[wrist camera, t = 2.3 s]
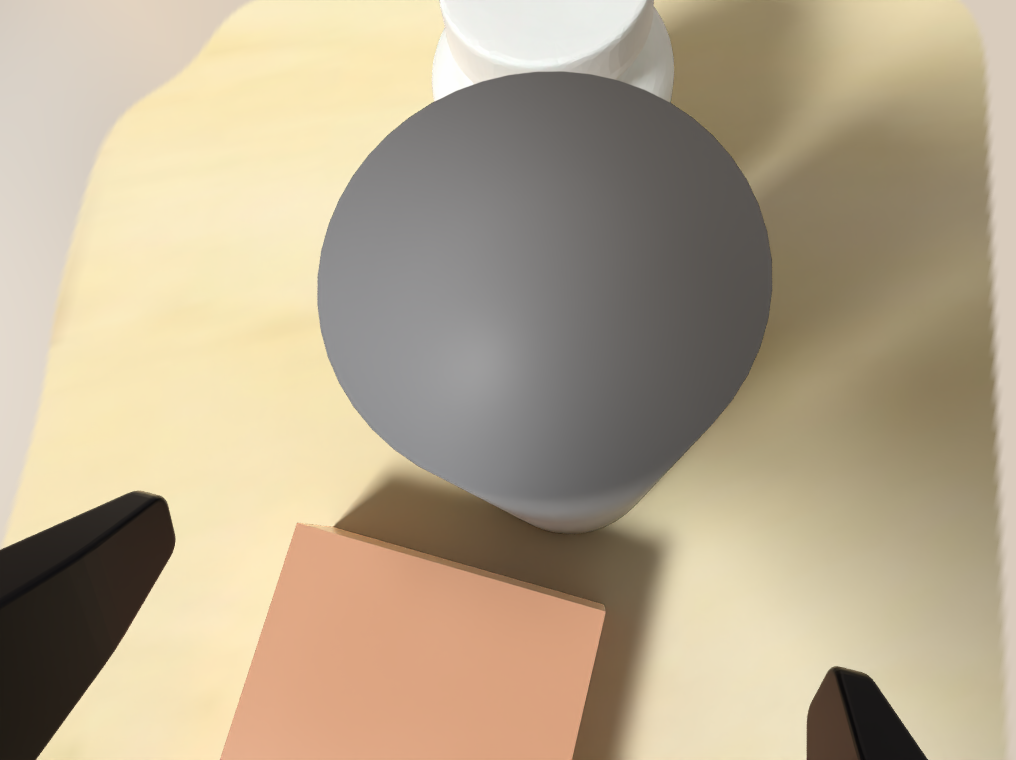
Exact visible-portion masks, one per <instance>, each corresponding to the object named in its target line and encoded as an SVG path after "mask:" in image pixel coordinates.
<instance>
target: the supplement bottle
mask: <svg viewBox="0 0 1016 760" xmlns="http://www.w3.org/2000/svg"><path fill="white" fill-rule="evenodd" d="M439 1H440V8H441V12H442V16H443V20H444V24H445V28H444V30H443V32H442V35H441V37H440V39H439V42H438V45H437V48H436V52H435V56H434V61H433V69H432V89H433V97H434V102H435V101H437V100H439V99H441V98H443V97H445V96H447V95H449V94H451V93H453V92H455V91H457V90H460V89H463V88H465V87H468V86H471V85H474V84H477V83H479V82H482V81H486V80H490V79H495V78H499V77H503V76H507V75H513V74H522V73H530V72H555V71H565V72H574V73H584V74H592V75H597V76H601V77H605V78H610V79H614V80H619V81H621V82H624V83H627V84H630V85H633V86H635V87H638V88H641V89H644V90H646V91H648V92H650V93H652V94H654V95H656V96H658V97H660V98H662V99H664V100H666V101H668V102H670V103H671V97H672V89H673V81H674V58H673V51H672V46H671V42H670V37H669V35H668V32H667V29H666V27H665V24H664V22H663V20H662V18H661V17H660V15H659V13H658V12H657V10H656V9H655V7H654V0H439Z"/></svg>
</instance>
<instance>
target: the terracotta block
mask: <svg viewBox="0 0 1016 760" xmlns="http://www.w3.org/2000/svg"><path fill="white" fill-rule="evenodd" d="M605 613H606V610H605V607H604V604H601V603H597V602H594V601H591V600H587V599H584V598H580V597H577V596H573V595H570V594H566V593H563V592H559V591H556V590H552V589H549V588H545V587H542V586H538V585H535V584H531V583H528V582H524V581H521V580H517V579H514V578H510V577H507V576H503V575H500V574H496V573H493V572H489V571H486V570H482V569H479V568H475V567H472V566H468V565H465V564H461V563H458V562H454V561H451V560H447V559H444V558H440V557H437V556H433V555H430V554H426V553H423V552H419V551H416V550H412V549H409V548H405V547H402V546H398V545H395V544H391V543H388V542H384V541H381V540H377V539H374V538H370V537H367V536H363V535H360V534H356V533H353V532H350V531H346V530H343V529H339V528H336V527H331V526H322V525H313V524H304V523H297V525H296V528H295V531H294V534H293V537H292V540H291V543H290V546H289V549H288V552H287V555H286V558H285V561H284V565H283V568H282V571H281V574H280V577H279V580H278V583H277V586H276V589H275V592H274V595H273V598H272V601H271V604H270V608H269V611H268V614H267V617H266V620H265V623H264V626H263V629H262V632H261V635H260V638H259V641H258V644H257V647H256V650H255V654H254V657H253V660H252V663H251V666H250V669H249V672H248V675H247V678H246V681H245V684H244V687H243V690H242V693H241V697H240V700H239V703H238V706H237V709H236V712H235V715H234V718H233V721H232V724H231V727H230V730H229V733H228V736H227V740H226V743H225V746H224V749H223V752H222V755H221V758H220V760H572V757H573V753H574V748H575V744H576V739H577V735H578V731H579V726H580V722H581V718H582V713H583V709H584V705H585V700H586V696H587V692H588V687H589V683H590V679H591V674H592V670H593V665H594V661H595V657H596V652H597V648H598V644H599V639H600V635H601V631H602V626H603V622H604V618H605Z"/></svg>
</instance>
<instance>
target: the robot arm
mask: <svg viewBox="0 0 1016 760" xmlns="http://www.w3.org/2000/svg"><path fill="white" fill-rule="evenodd" d="M174 546H175V533H174V528H173V524H172V520H171V516H170V511H169V507H168V504H167V501H166V500H165V499H164V498H163V497H162V496H160V495H156V494H152V493H148V492H144V491H133V492H130V493H127V494H125V495H123V496H121V497H118V498H116V499H114V500H112V501H109V502H107V503H105V504H103V505H100V506H98V507H96V508H94V509H91V510H89V511H87V512H85V513H82V514H80V515H78V516H76V517H73V518H71V519H69V520H67V521H64V522H62V523H60V524H58V525H55V526H53V527H51V528H49V529H46V530H44V531H42V532H39V533H37V534H35V535H33V536H30V537H28V538H26V539H24V540H21V541H19V542H17V543H15V544H12V545H10V546H8V547H6V548H3V549H1V550H0V760H36V759H37V758H38V756H39V755H40V753H41V752H42V751H43V749H44V748H45V747H46V745H47V744H48V742H49V741H50V740H51V738H52V737H53V736H54V734H55V733H56V731H57V730H58V729H59V727H60V726H61V725H62V723H63V722H64V720H65V719H66V718H67V716H68V715H69V713H70V712H71V711H72V709H73V708H74V707H75V705H76V704H77V702H78V701H79V700H80V698H81V697H82V696H83V694H84V693H85V691H86V690H87V689H88V687H89V686H90V685H91V683H92V682H93V680H94V679H95V678H96V676H97V675H98V674H99V672H100V671H101V669H102V668H103V667H104V665H105V664H106V662H107V661H108V659H109V658H110V657H111V655H112V654H113V652H114V651H115V649H116V648H117V646H118V645H119V643H120V641H121V640H122V638H123V637H124V635H125V633H126V632H127V630H128V628H129V627H130V625H131V623H132V621H133V620H134V618H135V616H136V615H137V613H138V611H139V609H140V608H141V606H142V604H143V603H144V601H145V599H146V598H147V596H148V594H149V592H150V591H151V589H152V587H153V586H154V584H155V582H156V581H157V579H158V577H159V575H160V574H161V572H162V570H163V569H164V567H165V565H166V564H167V562H168V560H169V558H170V557H171V555H172V553H173V550H174ZM807 760H928V759H927V758H926V756H925V755H924V753H923V752H922V751H921V749H920V748H919V746H918V745H917V743H916V742H915V740H914V739H913V737H912V736H911V734H910V733H909V732H908V730H907V729H906V727H905V726H904V724H903V723H902V721H901V720H900V718H899V717H898V716H897V714H896V713H895V711H894V710H893V708H892V707H891V705H890V704H889V702H888V701H887V699H886V698H885V697H884V695H883V694H882V692H881V691H880V689H879V688H878V686H877V685H876V683H875V682H874V681H873V679H872V678H871V677H869V676H868V675H867V674H865V673H862V672H859V671H855V670H851V669H847V668H843V667H839V666H834V667H832V668H831V669H829V671H828V672H827V674H826V676H825V678H824V679H823V681H822V683H821V685H820V687H819V689H818V691H817V693H816V695H815V696H814V698H813V700H812V702H811V704H810V707H809V710H808V716H807Z"/></svg>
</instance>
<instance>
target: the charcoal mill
mask: <svg viewBox="0 0 1016 760" xmlns="http://www.w3.org/2000/svg"><path fill="white" fill-rule="evenodd" d="M771 294H772V259H771V253H770V247H769V240H768V234H767V230H766V227H765V223H764V220H763V217H762V214H761V211H760V208H759V205H758V202H757V200H756V198H755V196H754V194H753V192H752V190H751V188H750V186H749V184H748V182H747V179H746V178H745V176H744V175H743V173H742V172H741V170H740V169H739V167H738V166H737V164H736V163H735V161H734V160H733V158H732V157H731V156H730V154H729V153H728V152H727V151H726V150H725V149H724V148H723V146H722V145H721V144H720V143H719V142H718V141H717V140H716V138H715V137H714V136H713V135H712V134H711V133H709V132H708V131H707V130H706V129H705V128H704V127H703V126H701V125H700V124H699V123H698V122H697V121H696V120H695V119H693V118H692V117H691V116H689V115H688V114H686V113H685V112H683V111H682V110H680V109H679V108H677V107H676V106H674V105H673V104H671V103H670V102H668V101H666V100H664V99H662V98H660V97H658V96H656V95H654V94H652V93H650V92H648V91H646V90H644V89H641V88H638V87H635V86H633V85H630V84H627V83H624V82H621V81H619V80H614V79H610V78H605V77H601V76H597V75H592V74H584V73H574V72H565V71H555V72H530V73H522V74H513V75H507V76H503V77H499V78H495V79H490V80H486V81H482V82H479V83H477V84H474V85H471V86H468V87H465V88H463V89H460V90H457V91H455V92H453V93H451V94H449V95H447V96H445V97H443V98H441V99H439V100H437V101H435V102H433V103H431V104H429V105H428V106H426V107H425V108H423V109H422V110H420V111H419V112H417V113H415V114H414V115H412V116H411V117H409V118H408V119H407V120H406V121H404V122H403V123H402V124H401V125H399V126H398V127H397V128H396V129H395V130H393V131H392V132H391V133H390V134H389V135H387V136H386V137H385V138H384V140H383V141H382V142H381V143H380V144H379V145H378V146H377V147H376V148H375V149H374V150H373V151H372V152H371V153H370V154H369V155H368V157H367V158H366V159H365V161H364V162H363V163H362V165H361V166H360V167H359V169H358V170H357V171H356V172H355V174H354V175H353V177H352V178H351V180H350V182H349V183H348V185H347V187H346V189H345V190H344V192H343V194H342V196H341V197H340V199H339V201H338V204H337V206H336V208H335V211H334V213H333V215H332V218H331V220H330V222H329V225H328V229H327V232H326V236H325V239H324V243H323V247H322V250H321V257H320V264H319V271H318V312H319V319H320V327H321V333H322V336H323V340H324V344H325V347H326V351H327V355H328V358H329V360H330V363H331V365H332V367H333V370H334V372H335V374H336V377H337V379H338V381H339V383H340V385H341V387H342V388H343V390H344V392H345V393H346V395H347V396H348V398H349V400H350V401H351V403H352V405H353V406H354V408H355V409H356V410H357V411H358V413H359V414H360V415H361V416H362V418H363V419H364V420H365V421H366V422H367V424H368V425H369V426H370V427H371V428H372V430H373V431H375V432H376V433H377V434H378V435H379V436H380V437H381V438H382V439H383V440H384V441H385V442H386V443H388V444H389V445H390V446H391V447H392V448H393V449H394V450H396V451H397V452H399V453H400V454H401V455H403V456H404V457H406V458H407V459H409V460H410V461H412V462H413V463H414V464H416V465H417V466H419V467H421V468H423V469H425V470H427V471H429V472H430V473H432V474H434V475H436V476H438V477H440V478H442V479H444V480H446V481H448V482H450V483H452V484H454V485H456V486H457V487H459V488H461V489H463V490H465V491H467V492H469V493H471V494H473V495H475V496H477V497H479V498H481V499H483V500H485V501H486V502H488V503H490V504H492V505H494V506H496V507H498V508H500V509H502V510H504V511H506V512H508V513H510V514H512V515H513V516H515V517H517V518H519V519H521V520H523V521H525V522H527V523H529V524H531V525H533V526H535V527H538V528H540V529H543V530H546V531H551V532H555V533H564V534H576V533H585V532H590V531H594V530H597V529H600V528H603V527H605V526H607V525H609V524H611V523H613V522H615V521H617V520H618V519H620V518H621V517H623V516H624V515H625V514H626V513H627V512H629V511H630V510H631V509H632V508H633V507H634V506H635V505H636V504H637V503H638V502H639V501H640V500H641V499H642V497H643V496H644V495H645V494H646V493H647V492H648V491H649V490H650V489H651V488H652V487H653V486H654V485H655V484H656V483H657V482H658V481H659V480H660V479H661V478H662V476H663V475H664V474H665V473H666V472H667V471H668V470H669V469H670V468H671V467H672V466H673V465H674V464H675V463H676V462H677V461H678V460H679V459H680V458H681V456H682V455H683V454H684V453H685V452H686V451H687V450H688V449H689V448H690V447H691V446H692V445H693V444H694V443H695V442H696V441H697V440H698V439H699V438H700V437H701V435H702V434H703V433H704V432H705V431H706V430H707V429H708V428H709V427H710V426H711V425H712V424H713V423H714V421H715V420H716V419H717V418H718V417H719V415H720V414H721V413H722V412H723V411H724V409H725V408H726V407H727V406H728V405H729V403H730V402H731V401H732V399H733V398H734V396H735V395H736V393H737V391H738V390H739V388H740V387H741V385H742V383H743V382H744V380H745V379H746V377H747V375H748V374H749V371H750V369H751V367H752V364H753V362H754V360H755V358H756V355H757V353H758V351H759V349H760V346H761V343H762V339H763V335H764V332H765V328H766V325H767V321H768V317H769V309H770V302H771Z"/></svg>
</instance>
